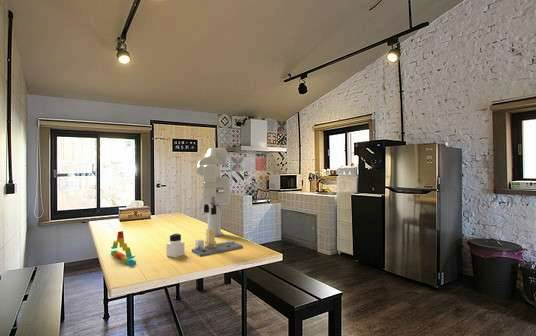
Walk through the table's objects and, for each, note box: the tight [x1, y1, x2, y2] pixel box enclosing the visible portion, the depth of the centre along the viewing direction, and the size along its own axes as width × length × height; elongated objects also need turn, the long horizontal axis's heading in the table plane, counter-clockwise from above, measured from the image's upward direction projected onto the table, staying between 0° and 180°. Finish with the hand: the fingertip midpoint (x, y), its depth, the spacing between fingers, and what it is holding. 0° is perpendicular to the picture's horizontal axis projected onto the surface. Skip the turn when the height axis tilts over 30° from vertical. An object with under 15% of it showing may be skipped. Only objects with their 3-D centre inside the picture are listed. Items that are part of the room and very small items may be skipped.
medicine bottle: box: [165, 233, 186, 258], centre depth 172 cm, size 7×7×12 cm
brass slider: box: [204, 228, 217, 248], centre depth 181 cm, size 9×5×10 cm, turn 37°
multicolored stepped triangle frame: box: [110, 230, 137, 266], centre depth 166 cm, size 30×3×15 cm, turn 44°
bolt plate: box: [191, 239, 244, 257], centre depth 182 cm, size 12×28×6 cm, turn 127°
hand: (210, 213), depth 183 cm, fingers open, 9 cm apart
